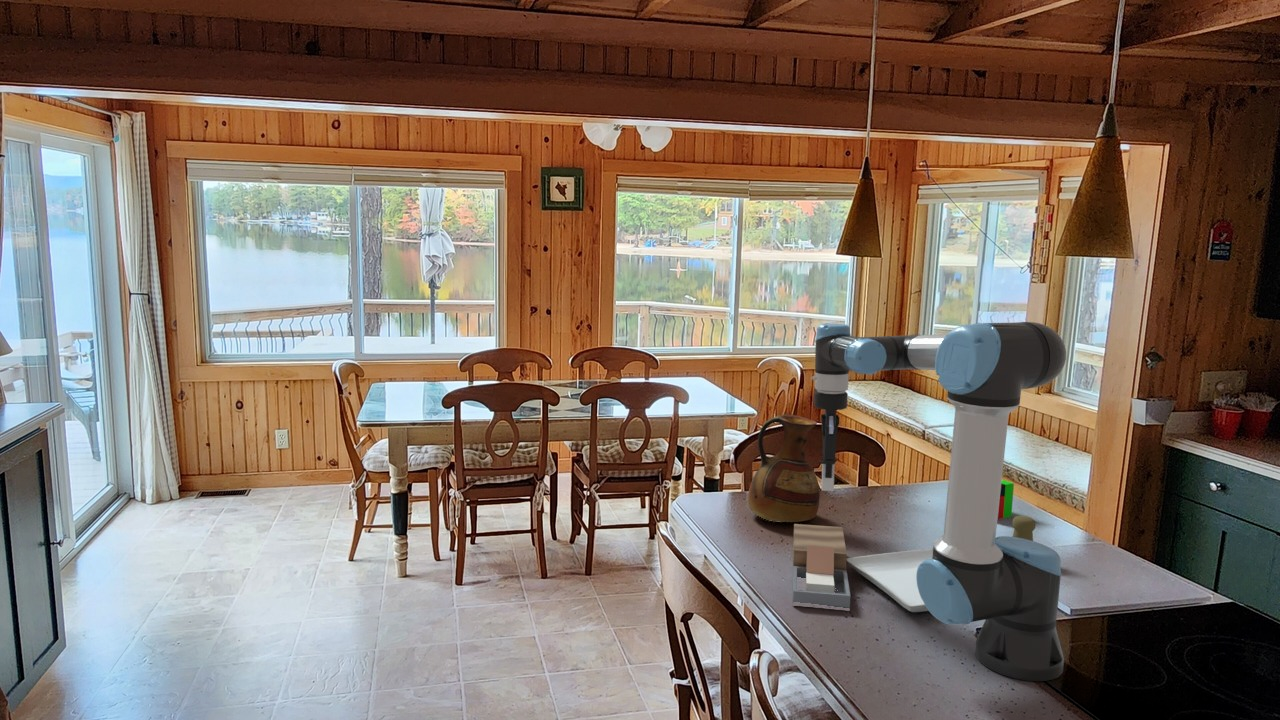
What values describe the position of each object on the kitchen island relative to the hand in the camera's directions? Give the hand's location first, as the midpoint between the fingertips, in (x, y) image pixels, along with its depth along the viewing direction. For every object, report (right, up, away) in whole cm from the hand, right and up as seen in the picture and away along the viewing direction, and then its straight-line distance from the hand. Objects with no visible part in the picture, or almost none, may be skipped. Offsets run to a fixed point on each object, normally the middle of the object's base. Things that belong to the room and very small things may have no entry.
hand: (827, 489), depth 189 cm
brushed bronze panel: (0, -20, +8) cm, 21 cm away
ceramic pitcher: (-3, -15, +42) cm, 45 cm away
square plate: (+22, -22, -4) cm, 31 cm away
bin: (-4, -22, -8) cm, 24 cm away
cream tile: (-4, -18, -9) cm, 21 cm away
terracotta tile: (-2, -16, -2) cm, 17 cm away
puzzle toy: (+57, -15, +47) cm, 75 cm away
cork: (+51, -20, +12) cm, 56 cm away
